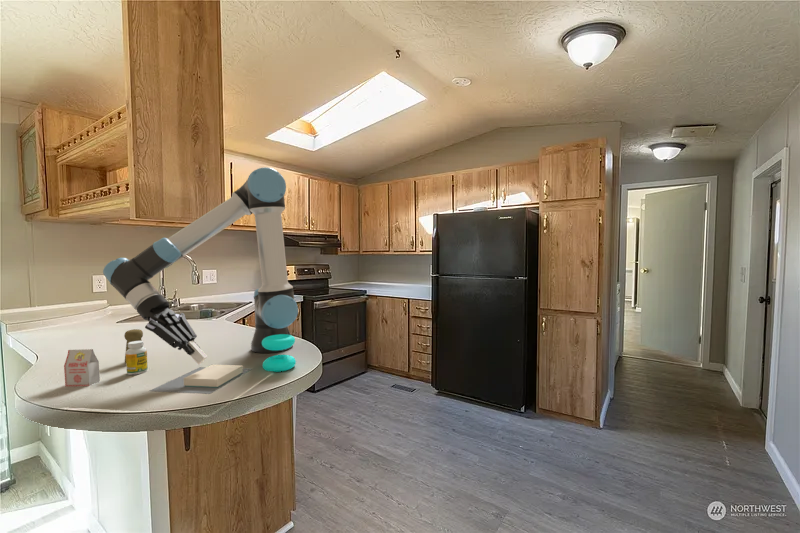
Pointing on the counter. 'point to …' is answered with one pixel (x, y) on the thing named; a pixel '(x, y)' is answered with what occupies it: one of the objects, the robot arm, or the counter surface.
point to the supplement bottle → (136, 358)
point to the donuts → (278, 361)
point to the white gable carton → (81, 368)
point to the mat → (179, 386)
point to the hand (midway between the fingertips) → (203, 360)
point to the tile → (213, 376)
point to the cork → (132, 337)
